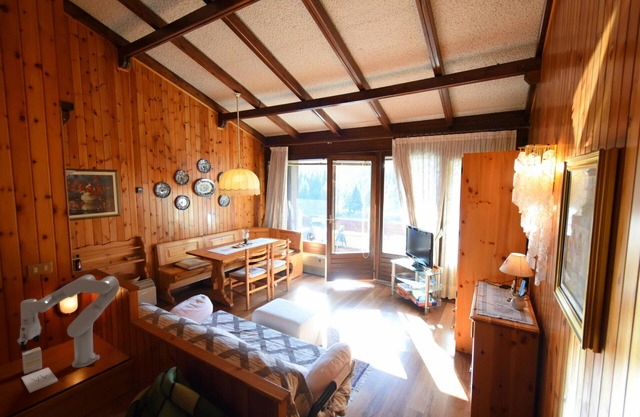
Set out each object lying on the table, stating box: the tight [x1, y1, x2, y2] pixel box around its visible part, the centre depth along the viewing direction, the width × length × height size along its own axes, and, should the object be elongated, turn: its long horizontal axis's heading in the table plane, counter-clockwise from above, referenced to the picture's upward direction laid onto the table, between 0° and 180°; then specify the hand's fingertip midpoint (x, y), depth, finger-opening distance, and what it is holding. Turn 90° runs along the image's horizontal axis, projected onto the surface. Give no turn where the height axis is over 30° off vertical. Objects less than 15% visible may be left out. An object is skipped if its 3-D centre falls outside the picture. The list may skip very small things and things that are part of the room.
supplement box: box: [21, 346, 43, 375], centre depth 182 cm, size 8×5×13 cm, turn 141°
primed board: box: [20, 367, 59, 393], centre depth 173 cm, size 20×12×1 cm, turn 55°
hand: (30, 346), depth 181 cm, fingers open, 9 cm apart
